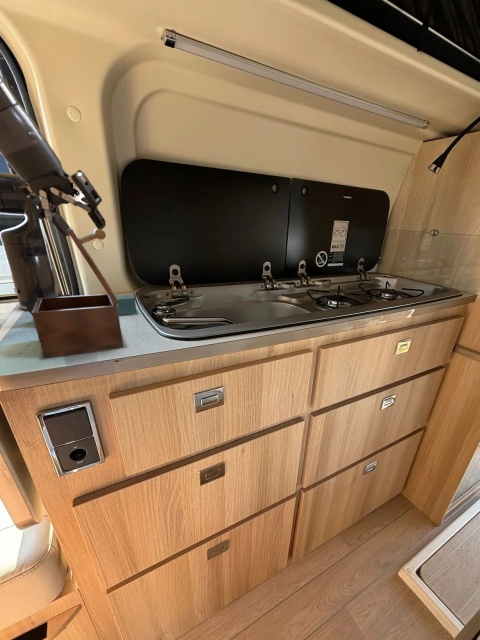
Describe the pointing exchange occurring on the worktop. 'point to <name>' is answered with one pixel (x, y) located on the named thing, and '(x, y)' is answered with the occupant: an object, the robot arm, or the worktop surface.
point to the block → (126, 304)
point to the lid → (79, 243)
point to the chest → (77, 324)
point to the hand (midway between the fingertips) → (85, 230)
